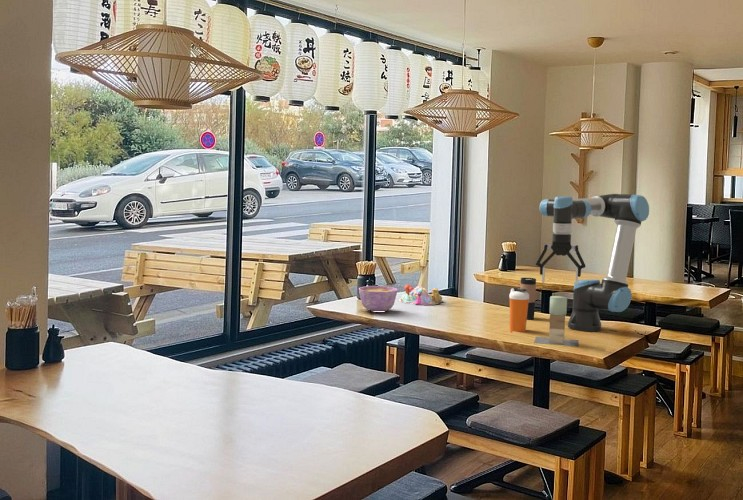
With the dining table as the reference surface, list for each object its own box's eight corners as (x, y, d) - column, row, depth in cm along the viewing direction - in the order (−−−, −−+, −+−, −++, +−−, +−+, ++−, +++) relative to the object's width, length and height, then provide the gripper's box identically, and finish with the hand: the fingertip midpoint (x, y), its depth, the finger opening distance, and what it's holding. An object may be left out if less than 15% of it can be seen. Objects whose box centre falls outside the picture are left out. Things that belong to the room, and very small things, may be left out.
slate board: (535, 338, 334) (536, 336, 334) (578, 342, 330) (578, 340, 329) (533, 345, 322) (533, 342, 322) (577, 349, 317) (577, 346, 317)
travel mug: (518, 316, 385) (520, 277, 383) (533, 317, 384) (535, 277, 382) (519, 319, 378) (521, 279, 376) (535, 320, 377) (536, 280, 375)
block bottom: (549, 339, 329) (550, 325, 329) (563, 340, 328) (564, 326, 327) (548, 342, 324) (549, 328, 323) (563, 343, 322) (564, 329, 321)
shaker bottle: (523, 335, 342) (525, 290, 340) (504, 332, 347) (506, 288, 344) (530, 331, 349) (532, 288, 347) (512, 329, 354) (513, 286, 352)
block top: (550, 325, 329) (550, 312, 328) (564, 326, 327) (565, 313, 326) (549, 328, 323) (550, 314, 322) (564, 329, 321) (564, 315, 321)
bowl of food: (350, 310, 392) (350, 288, 391) (378, 306, 405) (379, 284, 404) (376, 316, 377) (377, 293, 376) (405, 312, 390) (406, 289, 389)
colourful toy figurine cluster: (443, 299, 433) (443, 283, 432) (443, 306, 410) (444, 289, 409) (399, 297, 436) (399, 281, 435) (396, 305, 412) (397, 288, 411)
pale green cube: (549, 311, 329) (550, 295, 328) (566, 312, 327) (567, 296, 326) (548, 314, 322) (549, 298, 321) (566, 315, 320) (566, 299, 319)
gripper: (530, 232, 321) (529, 283, 323) (592, 235, 314) (590, 286, 316) (532, 231, 328) (530, 280, 330) (592, 233, 321) (590, 283, 323)
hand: (559, 283), depth 323 cm, fingers open, 13 cm apart
